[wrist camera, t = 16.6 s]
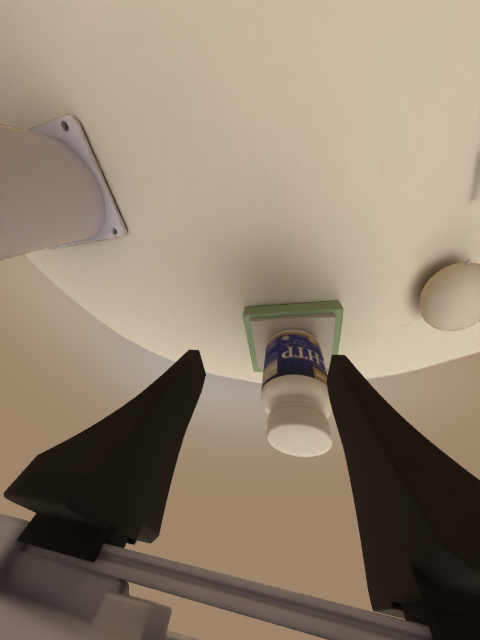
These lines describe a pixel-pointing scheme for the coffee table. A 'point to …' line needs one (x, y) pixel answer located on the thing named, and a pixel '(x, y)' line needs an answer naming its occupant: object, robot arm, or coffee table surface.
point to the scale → (293, 326)
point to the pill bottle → (296, 394)
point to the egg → (452, 297)
